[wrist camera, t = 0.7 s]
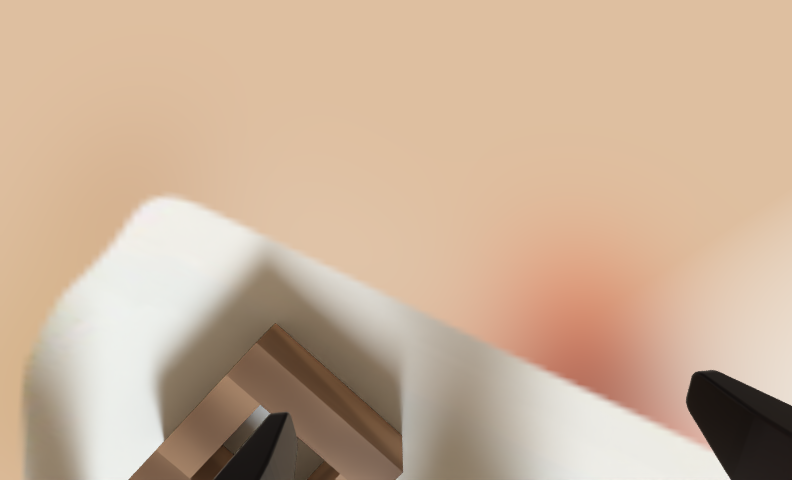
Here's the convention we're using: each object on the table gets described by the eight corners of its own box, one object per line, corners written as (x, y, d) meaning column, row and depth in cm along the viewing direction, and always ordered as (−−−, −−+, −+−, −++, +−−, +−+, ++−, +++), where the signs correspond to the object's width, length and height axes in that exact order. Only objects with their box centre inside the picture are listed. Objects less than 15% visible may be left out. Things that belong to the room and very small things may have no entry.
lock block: (289, 549, 27) (273, 601, 23) (163, 443, 26) (127, 480, 22) (401, 435, 26) (402, 472, 22) (275, 323, 25) (256, 342, 22)
